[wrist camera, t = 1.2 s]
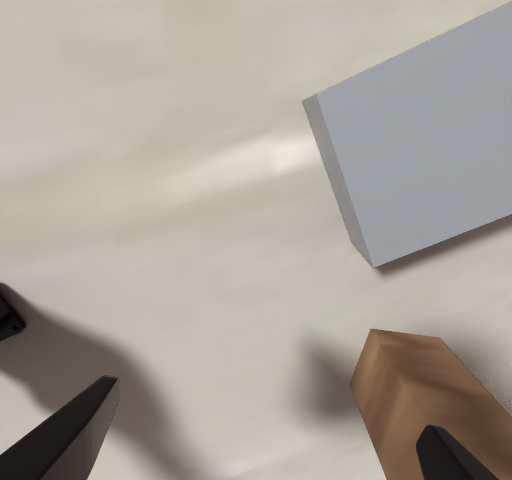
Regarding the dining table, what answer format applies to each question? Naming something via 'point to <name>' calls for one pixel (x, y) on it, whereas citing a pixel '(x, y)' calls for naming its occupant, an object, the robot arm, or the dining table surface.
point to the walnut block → (426, 403)
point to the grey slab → (422, 140)
